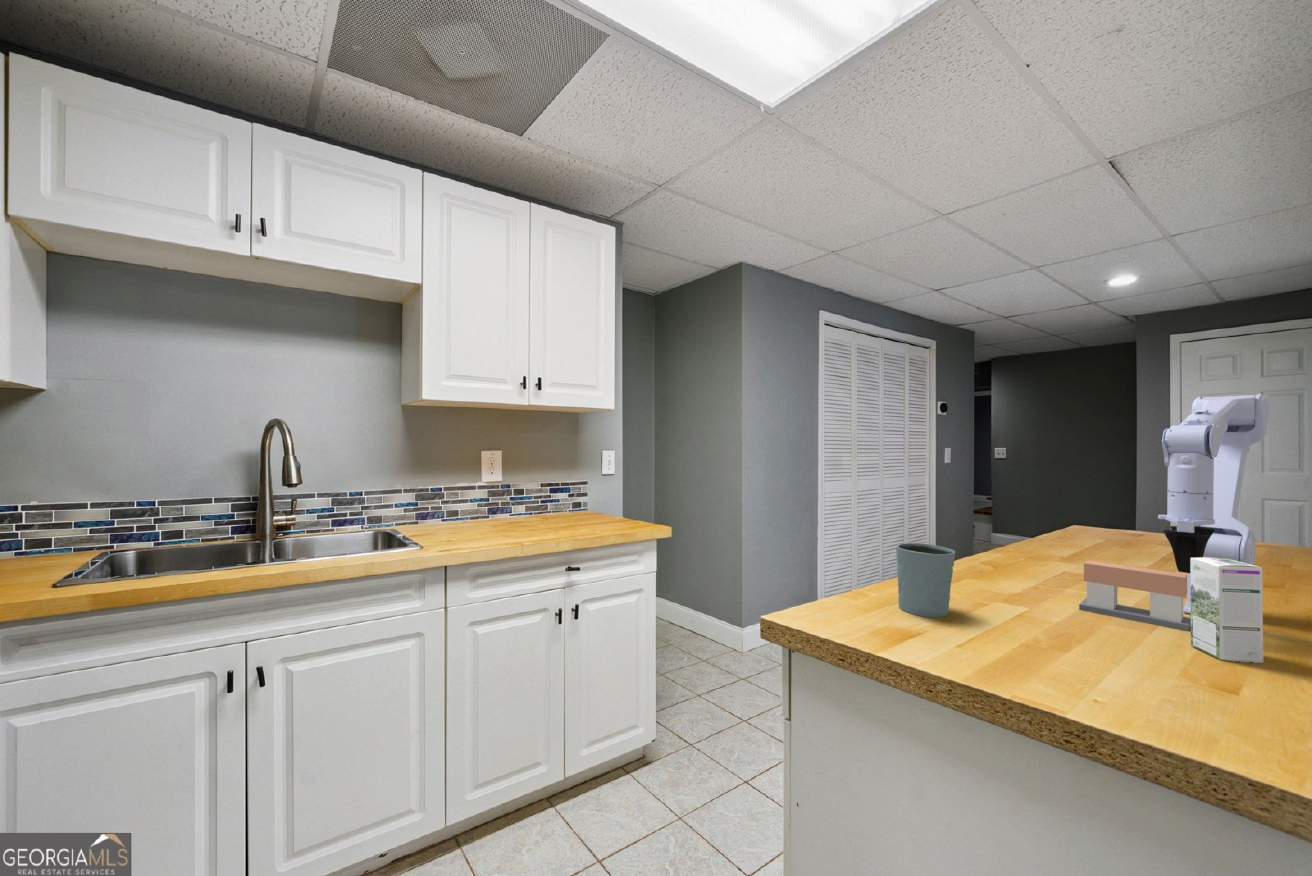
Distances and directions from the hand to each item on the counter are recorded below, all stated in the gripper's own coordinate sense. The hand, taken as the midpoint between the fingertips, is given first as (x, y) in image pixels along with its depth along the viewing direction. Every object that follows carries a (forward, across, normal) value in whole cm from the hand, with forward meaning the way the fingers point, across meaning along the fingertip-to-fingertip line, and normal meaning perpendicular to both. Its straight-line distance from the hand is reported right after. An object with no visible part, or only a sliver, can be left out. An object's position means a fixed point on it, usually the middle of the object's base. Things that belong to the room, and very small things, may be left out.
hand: (1189, 569), depth 92 cm
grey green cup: (+11, +27, -34) cm, 44 cm away
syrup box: (+11, +12, +5) cm, 17 cm away
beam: (+5, -1, -7) cm, 9 cm away
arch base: (+10, -1, -7) cm, 13 cm away
